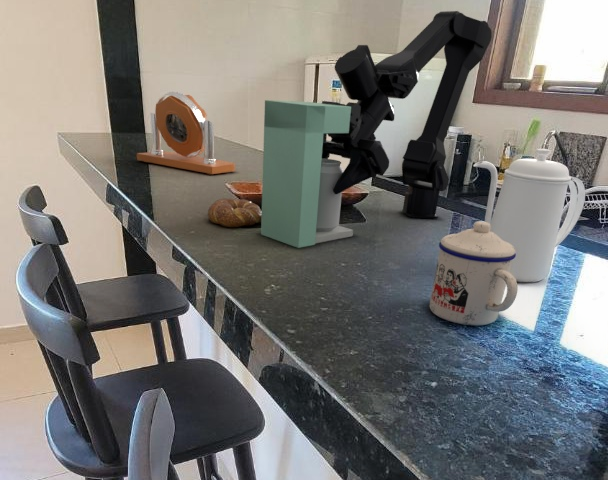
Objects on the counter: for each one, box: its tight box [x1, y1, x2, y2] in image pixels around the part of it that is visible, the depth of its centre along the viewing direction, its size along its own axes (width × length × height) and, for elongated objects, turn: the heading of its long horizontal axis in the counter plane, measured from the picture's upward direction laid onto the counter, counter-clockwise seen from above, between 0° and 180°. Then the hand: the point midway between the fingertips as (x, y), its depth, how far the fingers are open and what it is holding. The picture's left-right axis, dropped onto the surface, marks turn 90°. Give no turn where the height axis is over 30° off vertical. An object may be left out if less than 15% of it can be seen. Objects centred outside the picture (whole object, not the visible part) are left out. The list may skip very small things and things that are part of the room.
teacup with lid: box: [429, 220, 519, 326], centre depth 65 cm, size 12×9×12 cm
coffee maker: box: [260, 99, 354, 249], centre depth 93 cm, size 14×10×22 cm
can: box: [316, 158, 344, 232], centre depth 96 cm, size 8×8×12 cm
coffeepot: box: [472, 148, 586, 283], centre depth 81 cm, size 11×25×19 cm, turn 117°
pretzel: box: [207, 197, 262, 228], centre depth 103 cm, size 12×11×4 cm
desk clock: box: [136, 91, 236, 176], centre depth 154 cm, size 12×30×20 cm, turn 58°
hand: (315, 187), depth 94 cm, fingers open, 9 cm apart
